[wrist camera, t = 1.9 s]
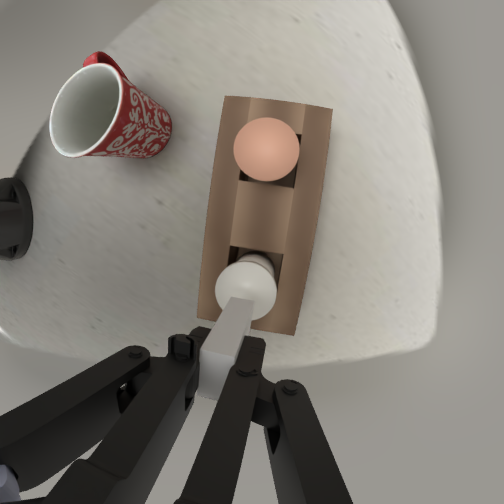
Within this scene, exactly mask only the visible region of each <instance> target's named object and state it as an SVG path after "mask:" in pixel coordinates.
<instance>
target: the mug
mask: <svg viewBox="0 0 504 504" xmlns="http://www.w3.org/2000/svg"><path fill="white" fill-rule="evenodd" d="M49 129H50V136H51V140H52V143H53V145H54V147H55V148H56V150H57V151H58V152H59V153H60V154H62V155H64V156H66V157H70V158H77V157H81V156H111V157H132V158H148V157H151V156H154V155H156V154H157V153H159V152H160V151H161V150H162V149H163V148H164V147H165V145H166V144H167V142H168V140H169V138H170V135H171V130H172V125H171V119H170V116H169V114H168V113H167V111H166V110H165V109H164V108H163V107H161V106H160V105H159V104H157V103H156V102H155V101H153V100H152V99H151V98H150V97H148V96H147V95H146V94H144V93H143V92H142V91H140V90H139V89H138V88H137V87H136V86H134V85H133V84H132V83H131V82H129V80H128V79H127V77H126V76H125V74H124V73H123V71H122V70H121V68H120V67H119V66H118V65H117V63H116V62H115V61H114V60H113V59H112V58H111V57H110V56H108V55H107V54H105V53H104V52H100V51H98V52H95V53H93V54H92V55H90V56H89V57H88V58H86V60H85V61H84V64H83V68H82V69H80V70H79V71H78V72H76V73H75V74H74V75H73V76H72V77H71V78H69V79H68V81H67V82H66V83H65V84H64V85H63V87H62V88H61V90H60V91H59V93H58V95H57V97H56V99H55V101H54V104H53V107H52V110H51V115H50V123H49Z"/></svg>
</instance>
